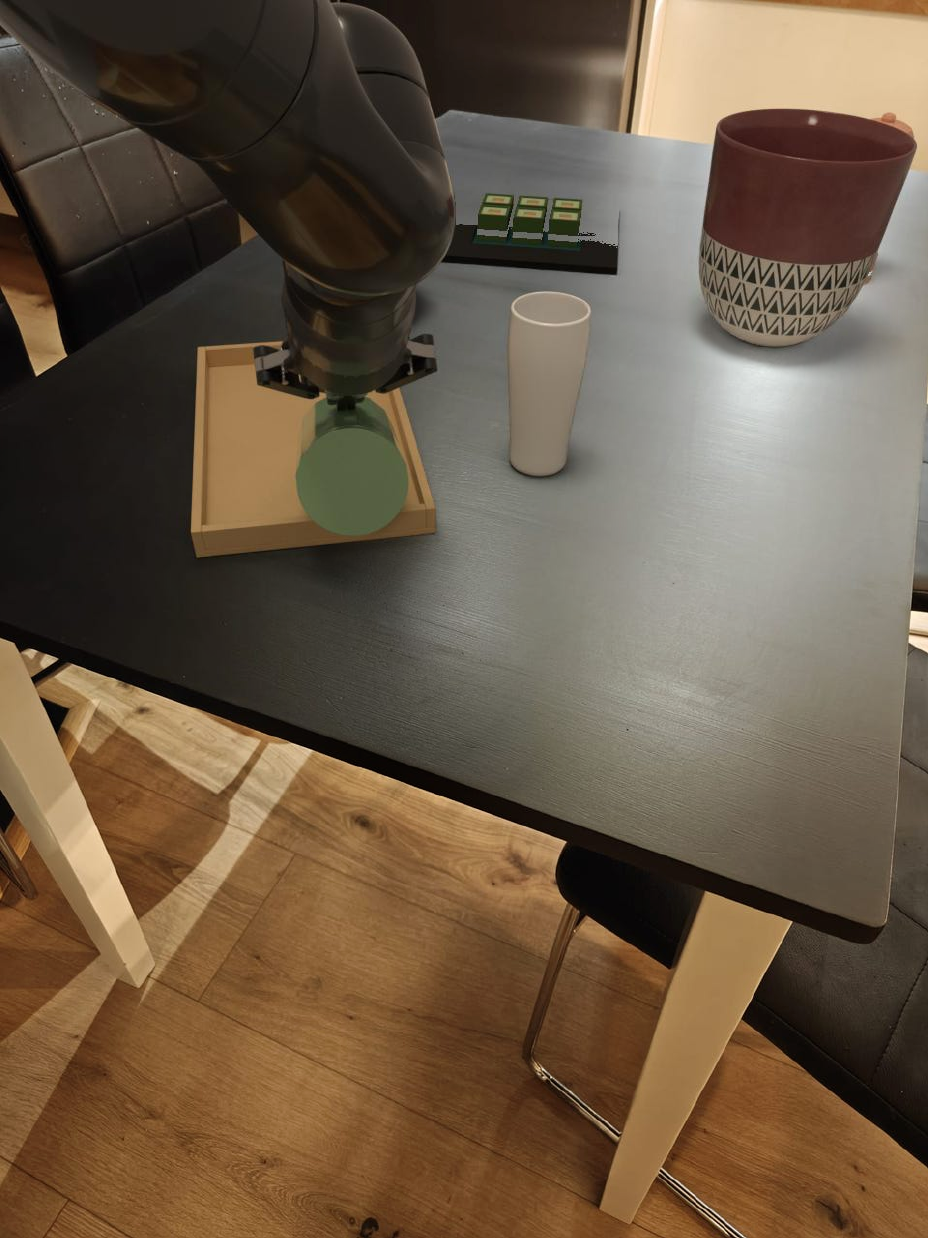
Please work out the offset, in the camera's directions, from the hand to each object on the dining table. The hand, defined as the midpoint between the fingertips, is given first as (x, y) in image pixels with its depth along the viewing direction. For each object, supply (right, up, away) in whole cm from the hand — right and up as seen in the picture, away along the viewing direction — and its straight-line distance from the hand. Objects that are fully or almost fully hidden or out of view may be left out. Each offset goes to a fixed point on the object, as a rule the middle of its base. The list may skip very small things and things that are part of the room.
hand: (344, 397), depth 70 cm
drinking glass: (+16, -3, +14) cm, 22 cm away
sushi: (+19, +37, +58) cm, 71 cm away
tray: (-6, 0, +16) cm, 17 cm away
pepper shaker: (+59, +28, +49) cm, 82 cm away
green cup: (+1, -7, -4) cm, 9 cm away
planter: (+44, +16, +35) cm, 58 cm away
